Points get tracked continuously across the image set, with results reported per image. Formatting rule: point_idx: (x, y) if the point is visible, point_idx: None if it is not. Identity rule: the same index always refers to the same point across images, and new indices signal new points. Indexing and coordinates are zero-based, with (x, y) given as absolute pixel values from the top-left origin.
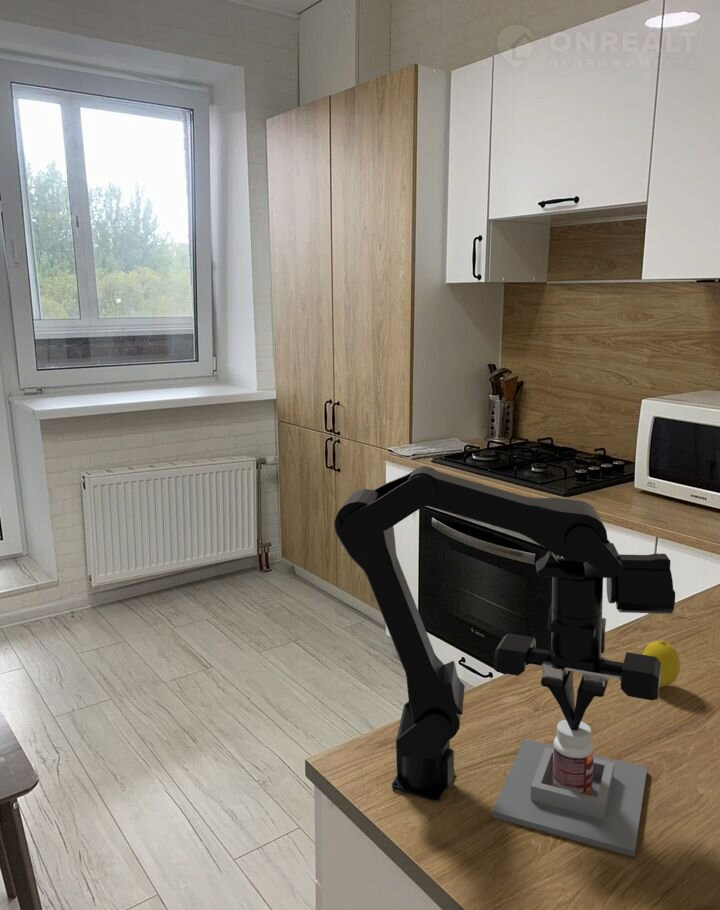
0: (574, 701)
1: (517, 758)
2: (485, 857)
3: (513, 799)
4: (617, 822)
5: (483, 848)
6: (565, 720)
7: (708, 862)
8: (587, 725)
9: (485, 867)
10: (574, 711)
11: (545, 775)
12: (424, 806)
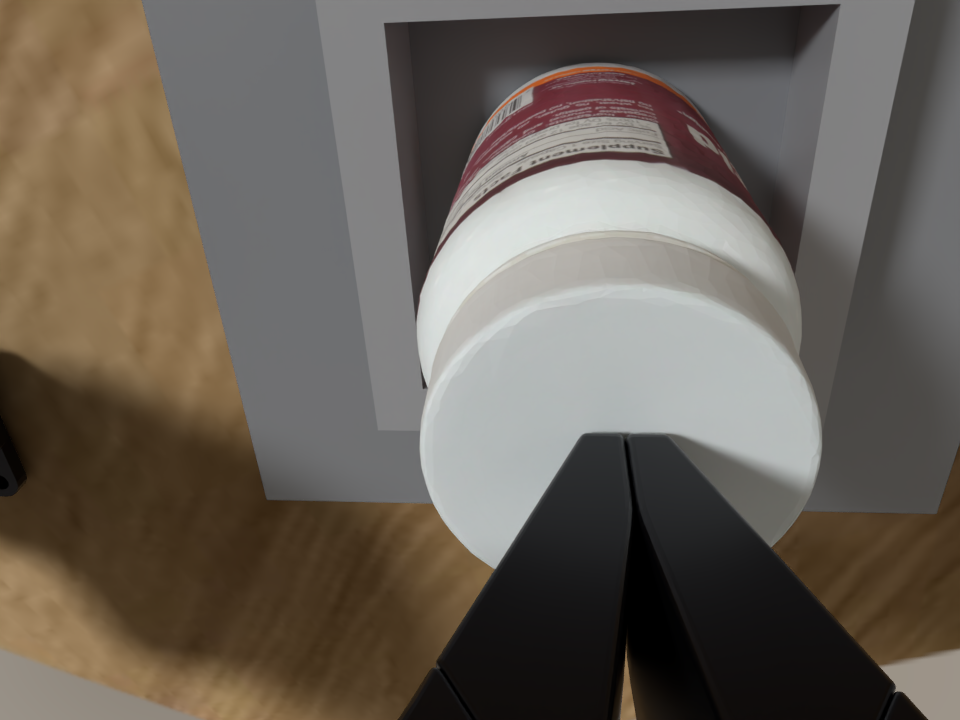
0: (617, 657)
1: (158, 18)
2: (348, 646)
3: (315, 402)
4: (868, 371)
5: (323, 617)
6: (485, 365)
7: None
8: (778, 372)
9: (367, 676)
10: (626, 618)
11: (415, 246)
12: (3, 512)
